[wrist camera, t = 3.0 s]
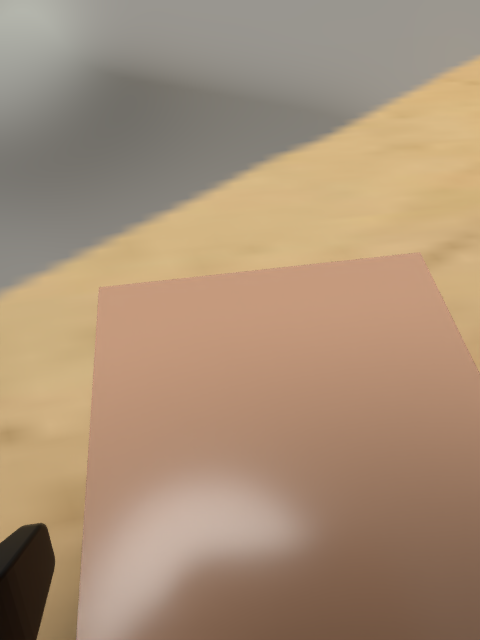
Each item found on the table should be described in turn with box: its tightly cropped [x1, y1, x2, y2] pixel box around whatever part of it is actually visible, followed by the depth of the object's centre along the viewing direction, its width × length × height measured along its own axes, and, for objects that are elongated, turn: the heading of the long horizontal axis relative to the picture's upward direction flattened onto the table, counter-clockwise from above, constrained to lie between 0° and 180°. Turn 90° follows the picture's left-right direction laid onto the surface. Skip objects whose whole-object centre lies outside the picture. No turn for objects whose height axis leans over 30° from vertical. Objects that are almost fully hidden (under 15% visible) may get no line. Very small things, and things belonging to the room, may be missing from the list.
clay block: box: [76, 253, 480, 640], centre depth 9 cm, size 5×4×12 cm
